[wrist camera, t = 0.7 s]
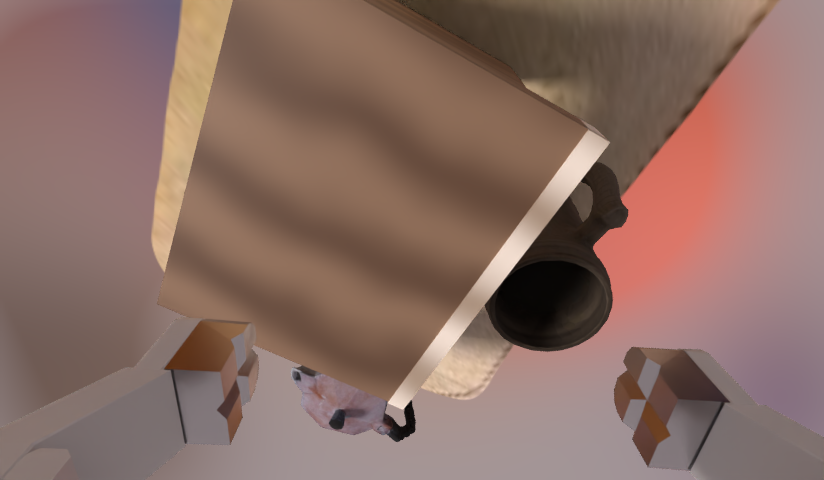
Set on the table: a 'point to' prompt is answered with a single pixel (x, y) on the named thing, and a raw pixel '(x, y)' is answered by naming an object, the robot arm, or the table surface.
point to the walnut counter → (364, 187)
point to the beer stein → (561, 275)
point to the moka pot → (347, 406)
